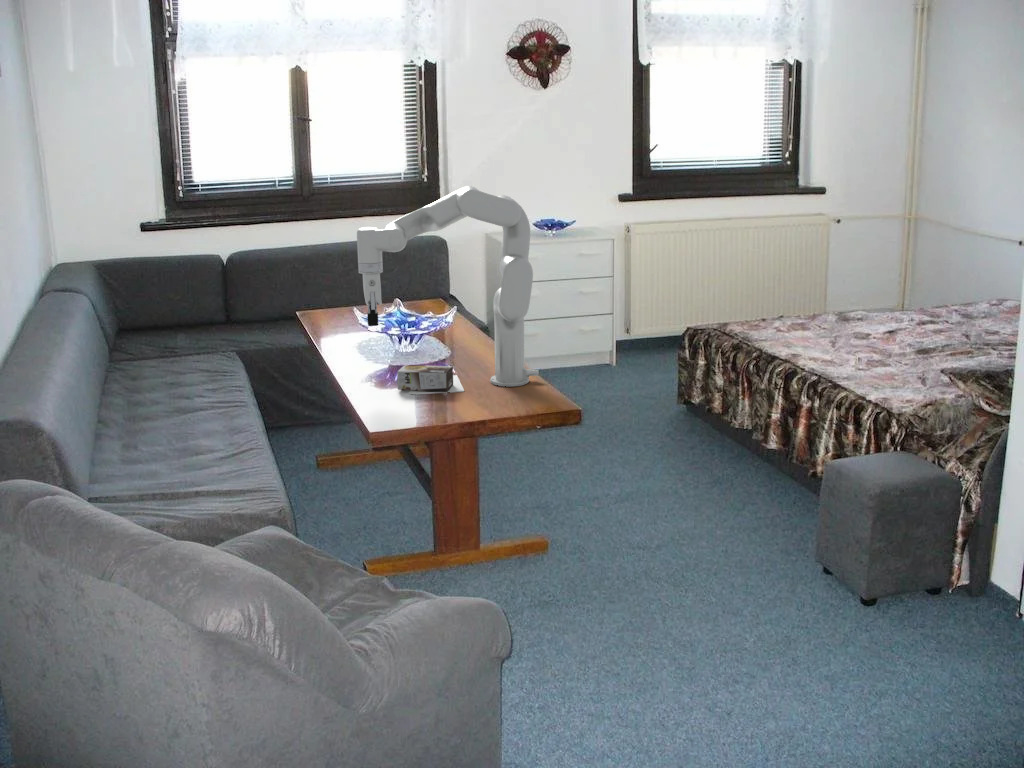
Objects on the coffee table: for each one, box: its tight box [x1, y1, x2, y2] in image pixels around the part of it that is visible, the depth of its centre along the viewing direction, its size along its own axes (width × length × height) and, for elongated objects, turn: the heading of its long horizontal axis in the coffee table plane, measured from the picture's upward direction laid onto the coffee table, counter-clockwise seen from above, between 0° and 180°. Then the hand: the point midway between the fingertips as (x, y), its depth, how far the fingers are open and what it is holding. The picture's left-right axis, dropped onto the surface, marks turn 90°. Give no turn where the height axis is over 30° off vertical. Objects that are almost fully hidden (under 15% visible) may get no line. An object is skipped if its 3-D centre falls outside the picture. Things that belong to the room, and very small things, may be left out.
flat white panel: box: [408, 374, 465, 395], centre depth 357 cm, size 17×18×1 cm
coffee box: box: [396, 364, 454, 392], centre depth 352 cm, size 9×6×16 cm
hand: (373, 325), depth 348 cm, fingers closed
